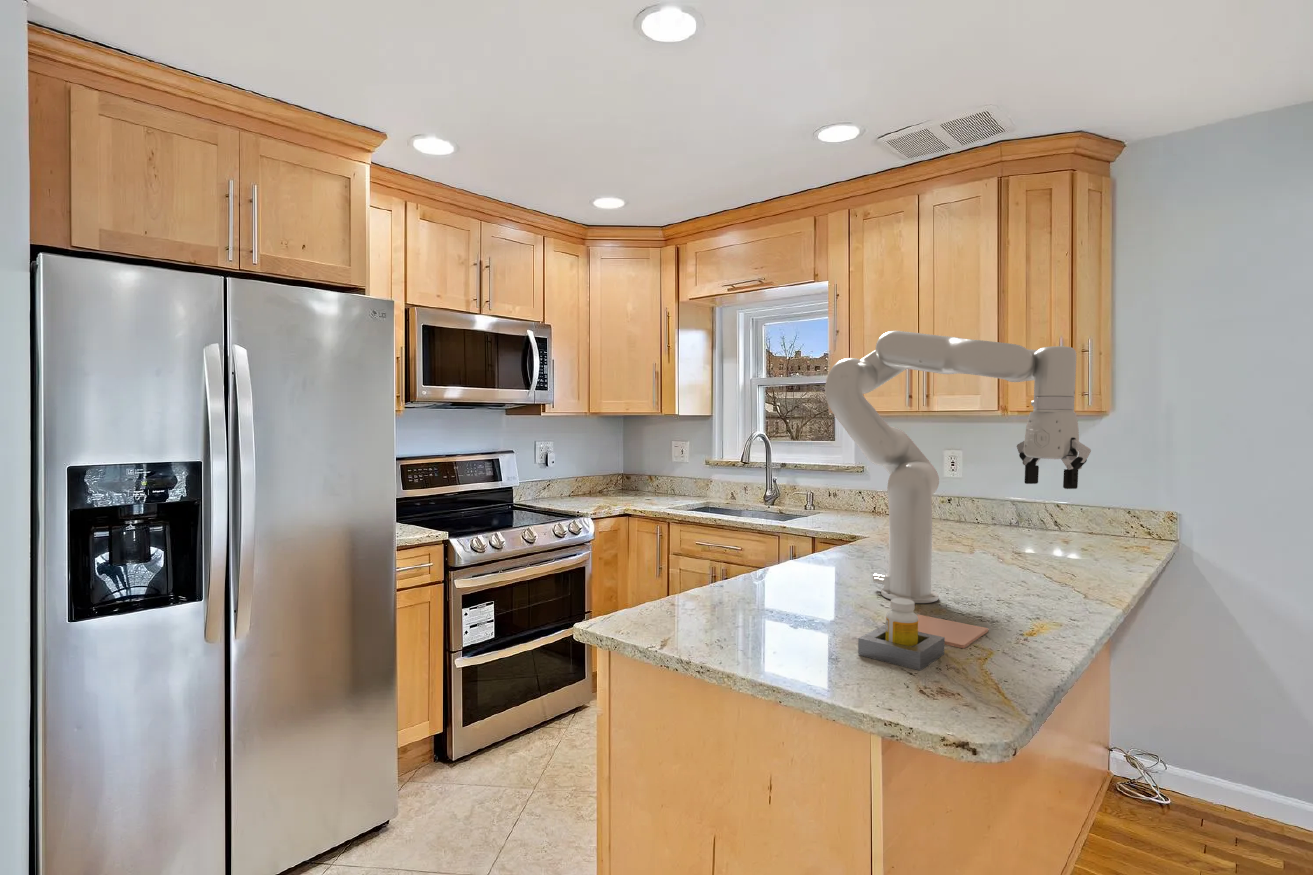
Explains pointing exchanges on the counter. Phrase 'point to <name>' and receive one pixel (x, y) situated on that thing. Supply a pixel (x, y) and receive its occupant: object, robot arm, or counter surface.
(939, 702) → the counter surface
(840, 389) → the robot arm
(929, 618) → the tile
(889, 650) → the collar
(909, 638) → the supplement bottle
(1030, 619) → the counter surface
